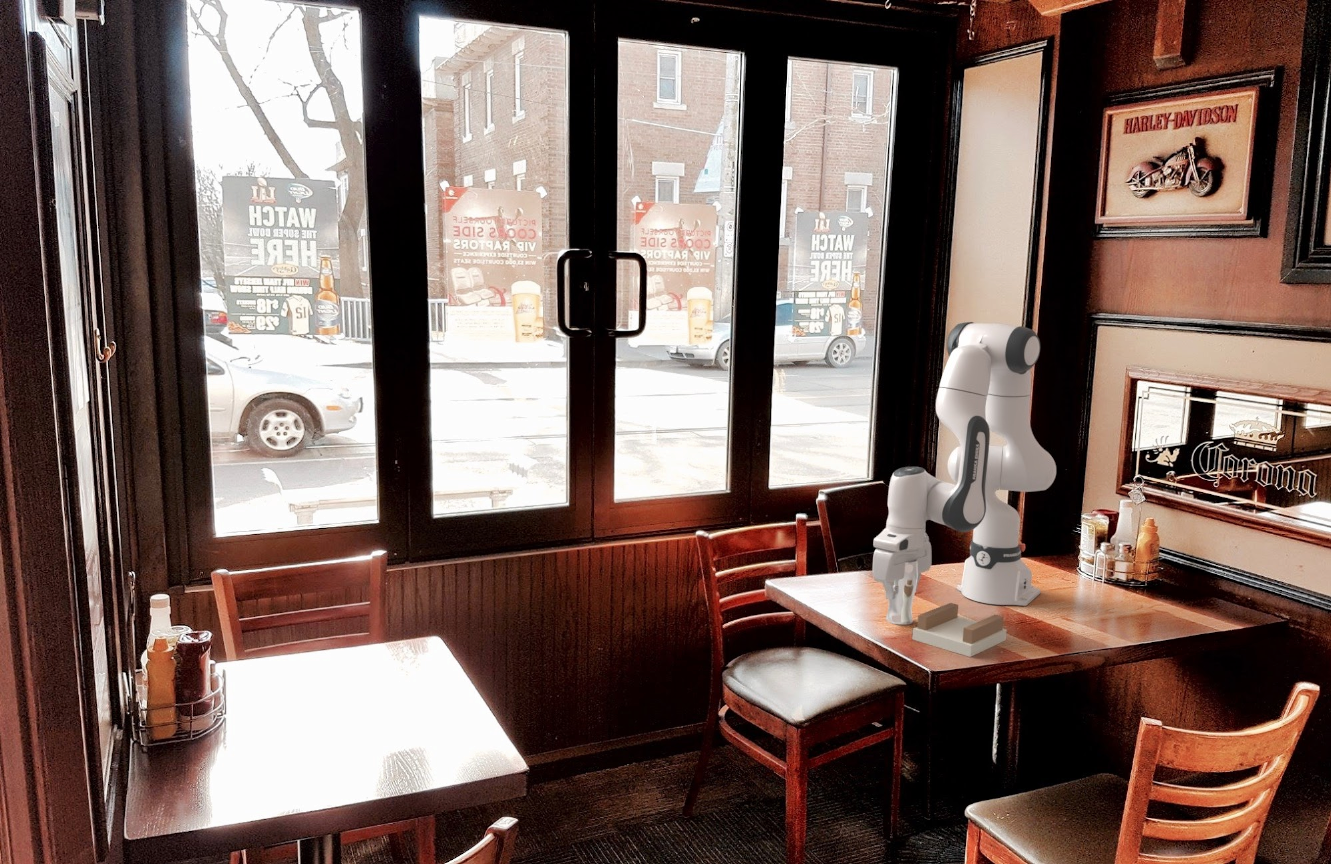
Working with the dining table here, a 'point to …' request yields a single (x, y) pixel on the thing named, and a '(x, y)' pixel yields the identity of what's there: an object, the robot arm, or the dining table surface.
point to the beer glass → (903, 596)
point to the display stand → (958, 631)
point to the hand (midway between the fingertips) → (901, 595)
